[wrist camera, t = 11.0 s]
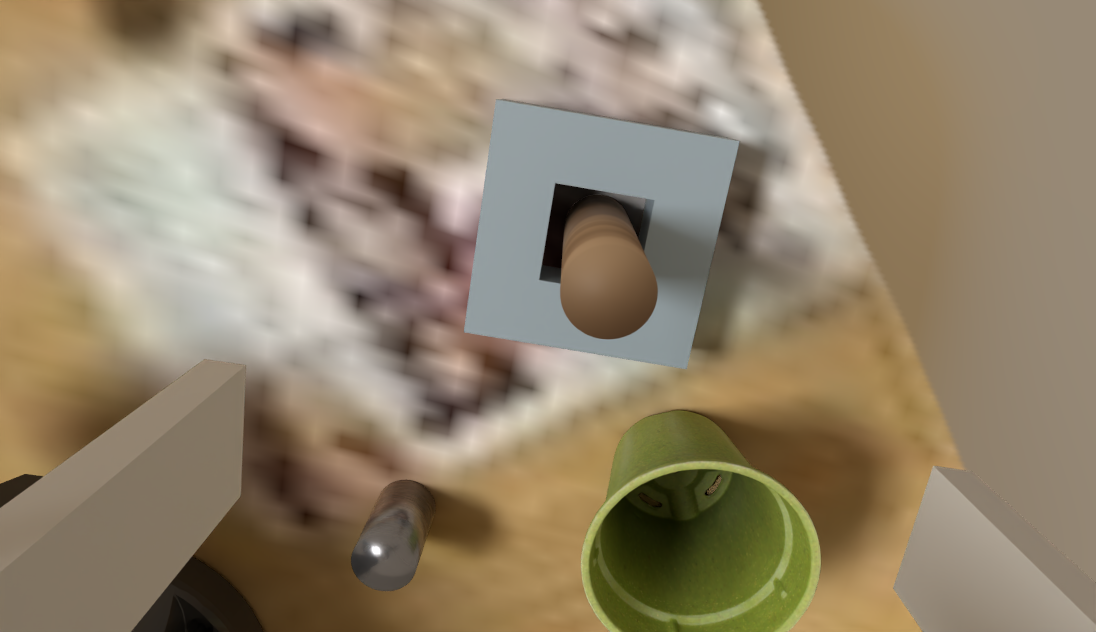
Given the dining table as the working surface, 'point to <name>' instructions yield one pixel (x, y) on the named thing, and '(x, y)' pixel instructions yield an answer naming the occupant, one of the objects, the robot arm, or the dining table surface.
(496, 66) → the dining table surface
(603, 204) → the long pin
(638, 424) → the plant pot
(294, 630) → the dining table surface
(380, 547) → the short pin
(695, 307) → the square grey frame
